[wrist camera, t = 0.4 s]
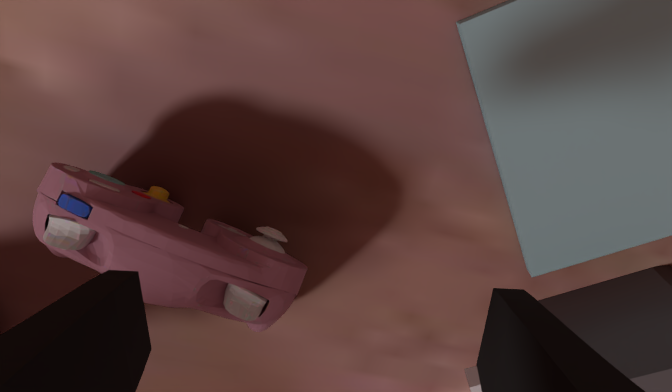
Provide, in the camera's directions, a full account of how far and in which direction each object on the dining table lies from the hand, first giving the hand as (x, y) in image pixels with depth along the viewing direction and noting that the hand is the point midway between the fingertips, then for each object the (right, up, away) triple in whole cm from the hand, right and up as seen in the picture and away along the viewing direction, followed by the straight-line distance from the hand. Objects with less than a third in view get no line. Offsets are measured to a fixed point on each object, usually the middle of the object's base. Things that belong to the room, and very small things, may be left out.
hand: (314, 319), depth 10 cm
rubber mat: (+13, +6, +7) cm, 16 cm away
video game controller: (-6, +2, +11) cm, 12 cm away
